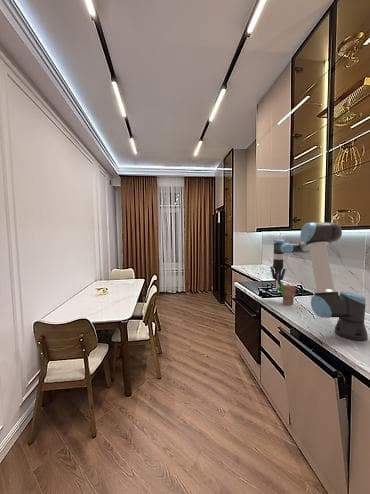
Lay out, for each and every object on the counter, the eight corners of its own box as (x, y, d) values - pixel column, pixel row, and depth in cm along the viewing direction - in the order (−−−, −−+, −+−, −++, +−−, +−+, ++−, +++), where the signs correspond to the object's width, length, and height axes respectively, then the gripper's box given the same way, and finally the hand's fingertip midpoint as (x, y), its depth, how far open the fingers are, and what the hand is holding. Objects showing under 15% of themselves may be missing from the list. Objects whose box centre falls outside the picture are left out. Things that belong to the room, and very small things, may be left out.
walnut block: (289, 306, 182) (289, 287, 181) (282, 304, 186) (283, 286, 185) (293, 304, 187) (294, 285, 186) (287, 302, 191) (287, 284, 190)
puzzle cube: (295, 297, 205) (295, 285, 205) (282, 296, 207) (283, 285, 207) (292, 294, 215) (292, 283, 214) (280, 293, 217) (280, 282, 216)
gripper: (288, 259, 188) (287, 288, 190) (273, 257, 198) (272, 286, 200) (284, 260, 183) (283, 290, 185) (268, 258, 193) (267, 287, 195)
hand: (277, 288), depth 193 cm, fingers closed
